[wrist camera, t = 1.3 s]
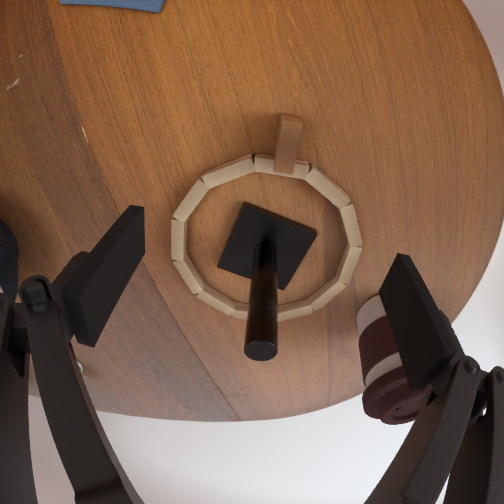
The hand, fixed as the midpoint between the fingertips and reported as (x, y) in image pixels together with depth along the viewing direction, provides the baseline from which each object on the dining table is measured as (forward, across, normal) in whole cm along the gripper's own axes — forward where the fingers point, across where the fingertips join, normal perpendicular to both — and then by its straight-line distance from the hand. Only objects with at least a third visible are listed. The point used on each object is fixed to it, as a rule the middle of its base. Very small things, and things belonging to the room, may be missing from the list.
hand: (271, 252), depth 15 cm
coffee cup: (+15, +18, -16) cm, 29 cm away
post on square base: (+15, +1, -9) cm, 18 cm away
